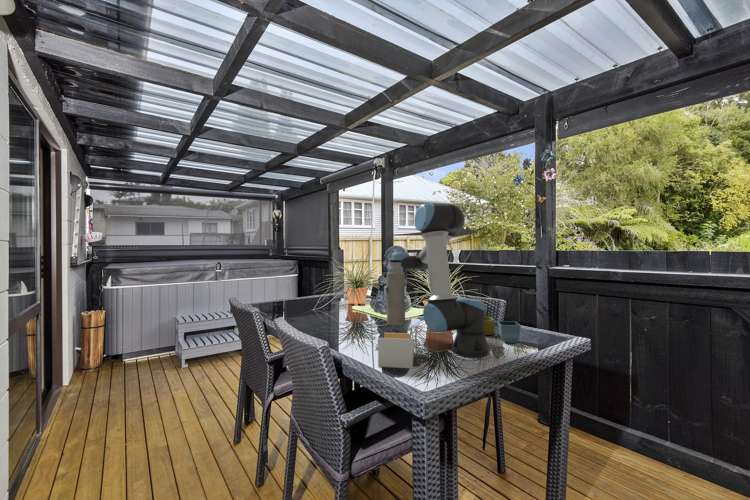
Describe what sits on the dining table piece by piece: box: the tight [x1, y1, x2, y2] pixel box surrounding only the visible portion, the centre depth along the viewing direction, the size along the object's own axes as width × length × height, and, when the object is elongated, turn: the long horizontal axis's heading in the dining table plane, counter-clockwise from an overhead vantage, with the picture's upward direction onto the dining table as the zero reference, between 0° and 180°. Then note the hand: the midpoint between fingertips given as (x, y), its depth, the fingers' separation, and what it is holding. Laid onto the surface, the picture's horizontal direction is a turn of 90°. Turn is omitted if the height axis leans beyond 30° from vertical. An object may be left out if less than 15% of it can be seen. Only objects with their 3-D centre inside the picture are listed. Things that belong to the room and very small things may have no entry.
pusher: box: [383, 332, 410, 339], centre depth 139 cm, size 4×10×10 cm, turn 81°
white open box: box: [377, 337, 415, 369], centre depth 142 cm, size 17×13×11 cm
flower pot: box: [497, 320, 521, 344], centre depth 167 cm, size 9×9×9 cm
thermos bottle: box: [386, 259, 406, 326], centre depth 156 cm, size 8×8×28 cm
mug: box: [485, 316, 495, 336], centre depth 182 cm, size 12×10×10 cm
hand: (395, 290), depth 151 cm, fingers closed on thermos bottle, 8 cm apart
